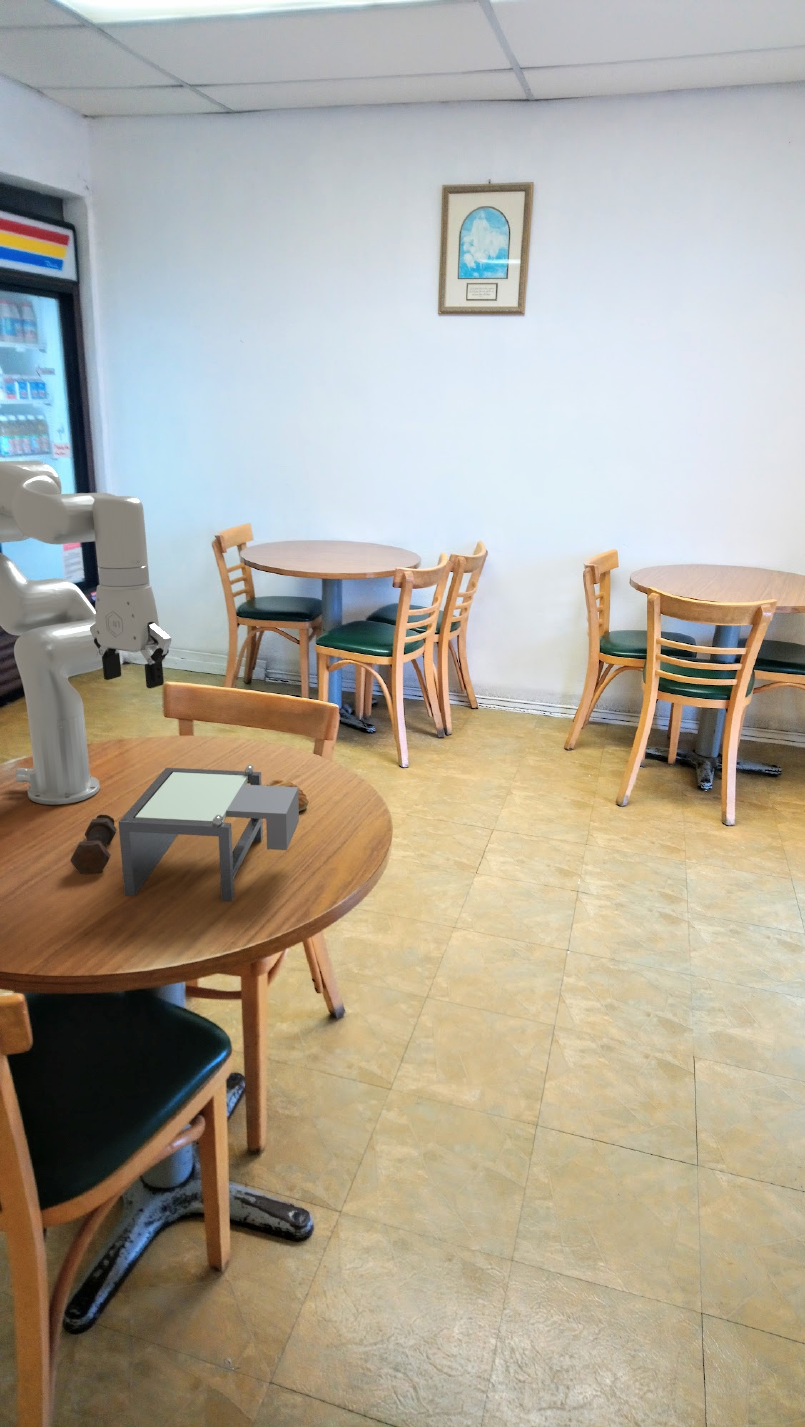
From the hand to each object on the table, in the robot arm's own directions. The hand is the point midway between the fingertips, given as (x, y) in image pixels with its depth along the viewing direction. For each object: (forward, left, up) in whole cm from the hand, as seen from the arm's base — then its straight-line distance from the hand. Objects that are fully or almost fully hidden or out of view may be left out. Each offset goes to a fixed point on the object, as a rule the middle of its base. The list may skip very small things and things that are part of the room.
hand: (133, 682), depth 141 cm
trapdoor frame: (+13, -12, -26) cm, 32 cm away
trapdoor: (+17, -12, -20) cm, 29 cm away
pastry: (+22, +13, -27) cm, 37 cm away
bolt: (-4, -9, -27) cm, 29 cm away
